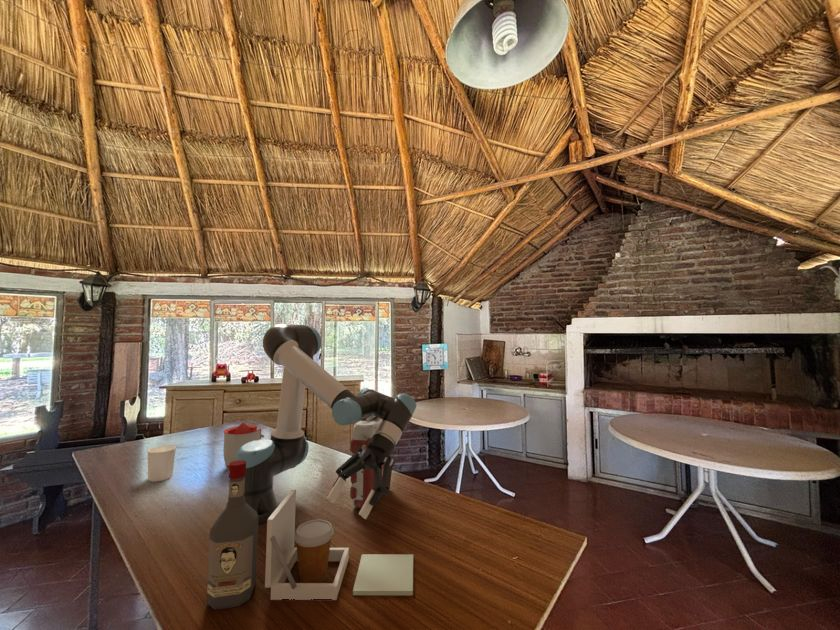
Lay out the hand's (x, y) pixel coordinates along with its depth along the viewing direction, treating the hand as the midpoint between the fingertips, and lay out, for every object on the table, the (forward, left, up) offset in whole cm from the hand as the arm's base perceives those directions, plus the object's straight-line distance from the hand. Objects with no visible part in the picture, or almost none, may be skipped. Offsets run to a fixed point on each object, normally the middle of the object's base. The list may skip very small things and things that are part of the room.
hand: (345, 508), depth 96 cm
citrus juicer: (-60, +69, -14) cm, 93 cm away
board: (+12, -6, -14) cm, 19 cm away
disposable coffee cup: (-6, -7, -14) cm, 17 cm away
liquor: (-23, -13, -14) cm, 30 cm away
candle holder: (-88, +55, -14) cm, 105 cm away
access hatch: (-6, -7, -14) cm, 16 cm away
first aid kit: (+3, +37, -14) cm, 40 cm away
